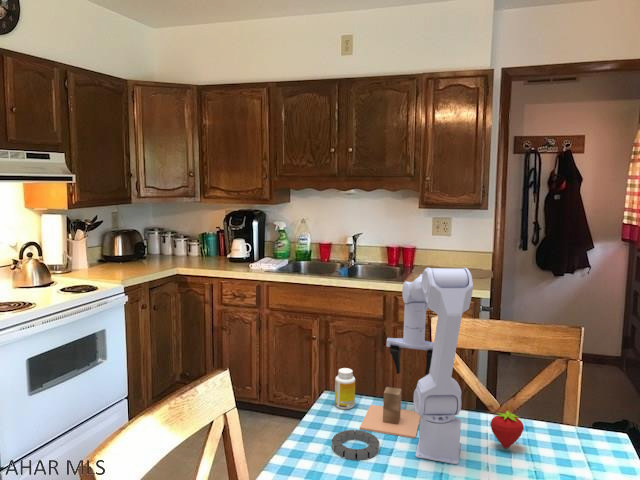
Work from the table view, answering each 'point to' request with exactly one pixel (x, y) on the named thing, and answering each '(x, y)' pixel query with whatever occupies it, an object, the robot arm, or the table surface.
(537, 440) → the table surface
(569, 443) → the table surface
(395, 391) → the link block
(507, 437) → the strawberry
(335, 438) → the holder ring
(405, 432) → the terracotta tile
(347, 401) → the supplement bottle
